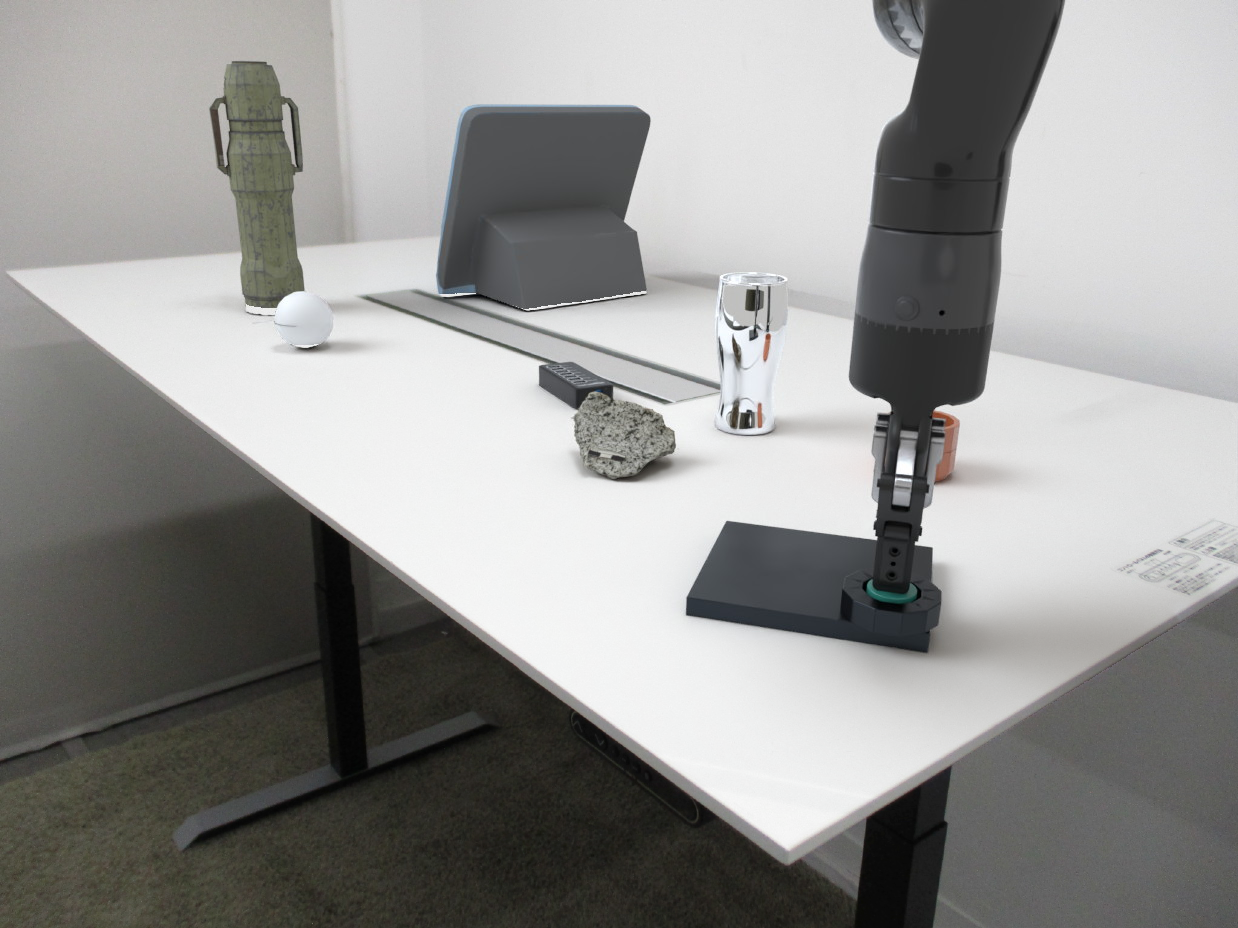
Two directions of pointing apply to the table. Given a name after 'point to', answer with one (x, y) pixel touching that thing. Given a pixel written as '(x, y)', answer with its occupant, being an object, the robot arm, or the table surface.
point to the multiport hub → (572, 382)
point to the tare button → (892, 595)
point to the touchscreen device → (542, 204)
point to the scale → (811, 587)
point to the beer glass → (749, 349)
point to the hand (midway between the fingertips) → (890, 586)
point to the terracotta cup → (947, 445)
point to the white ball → (303, 319)
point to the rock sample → (620, 435)
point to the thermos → (261, 180)
